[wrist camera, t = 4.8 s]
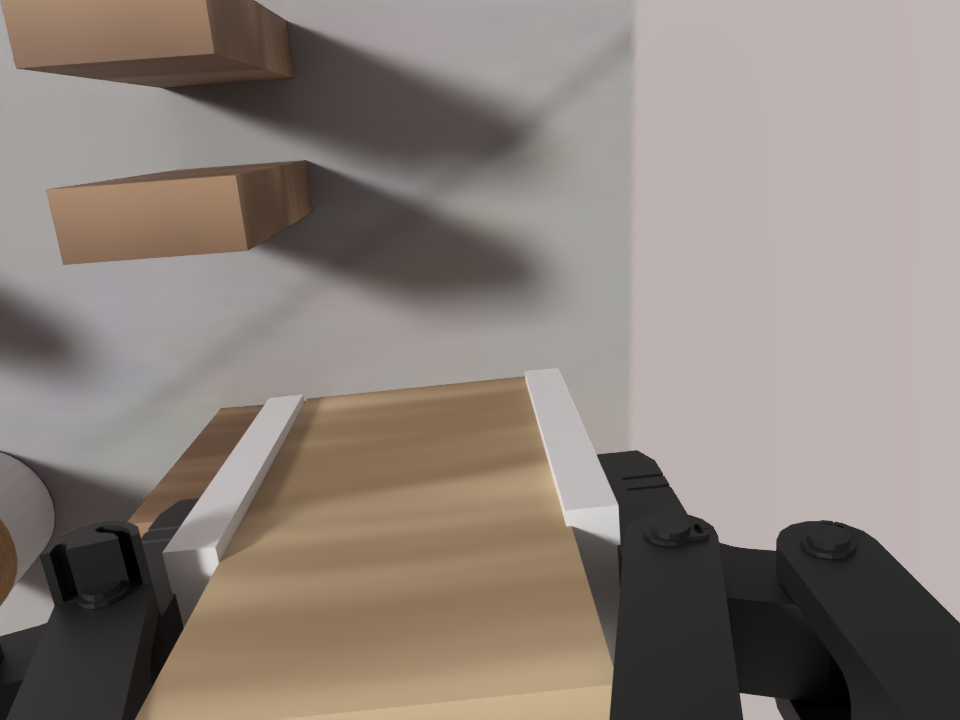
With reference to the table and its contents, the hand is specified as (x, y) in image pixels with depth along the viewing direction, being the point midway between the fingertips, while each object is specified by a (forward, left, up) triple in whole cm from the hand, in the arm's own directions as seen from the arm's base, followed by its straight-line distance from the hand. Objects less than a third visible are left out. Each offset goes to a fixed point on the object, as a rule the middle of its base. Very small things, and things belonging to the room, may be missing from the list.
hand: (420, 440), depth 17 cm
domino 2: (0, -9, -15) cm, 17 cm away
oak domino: (0, 0, 0) cm, 0 cm away
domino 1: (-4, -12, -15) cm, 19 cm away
